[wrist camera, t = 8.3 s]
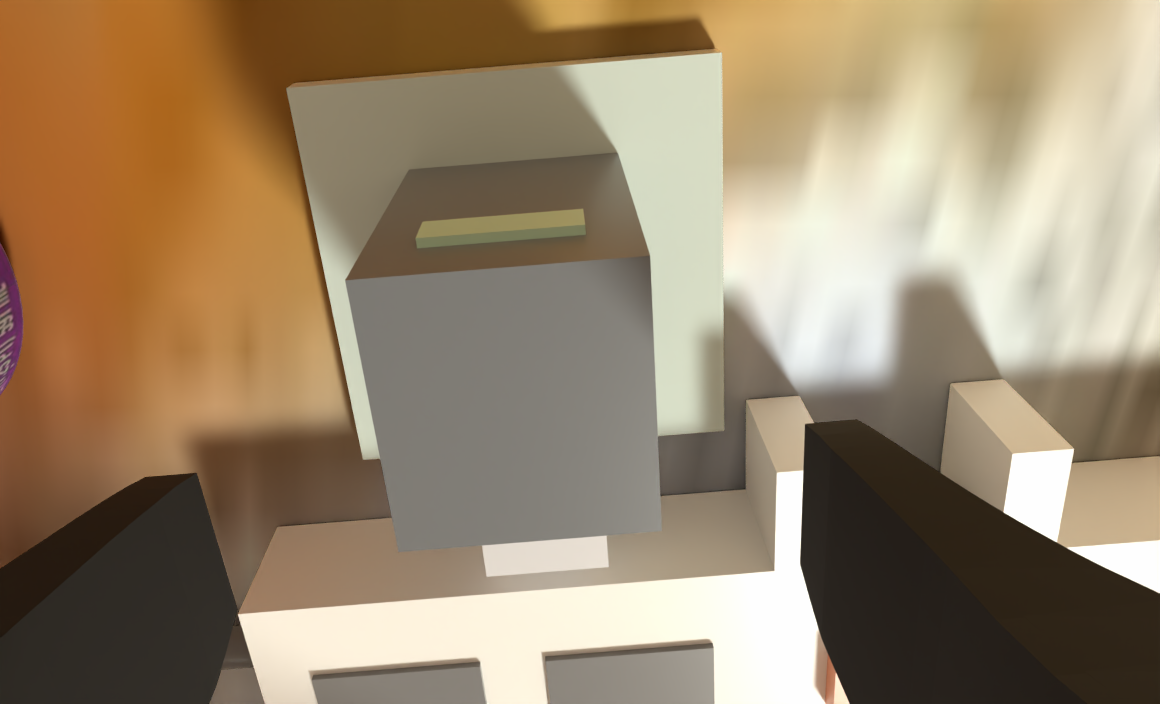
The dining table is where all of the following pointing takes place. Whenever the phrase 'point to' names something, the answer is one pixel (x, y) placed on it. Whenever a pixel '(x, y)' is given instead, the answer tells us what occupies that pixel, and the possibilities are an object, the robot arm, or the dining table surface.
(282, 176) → the dining table surface
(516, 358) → the block
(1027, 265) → the dining table surface
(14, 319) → the beverage can
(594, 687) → the power strip
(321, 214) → the coaster
